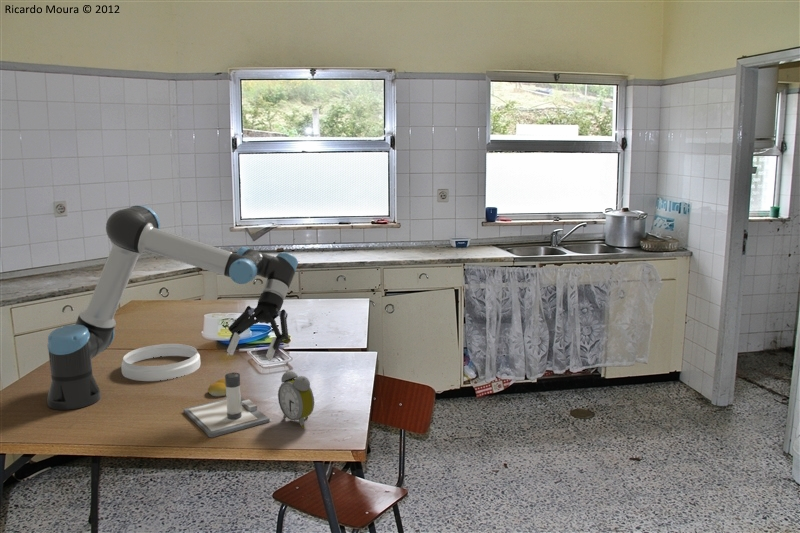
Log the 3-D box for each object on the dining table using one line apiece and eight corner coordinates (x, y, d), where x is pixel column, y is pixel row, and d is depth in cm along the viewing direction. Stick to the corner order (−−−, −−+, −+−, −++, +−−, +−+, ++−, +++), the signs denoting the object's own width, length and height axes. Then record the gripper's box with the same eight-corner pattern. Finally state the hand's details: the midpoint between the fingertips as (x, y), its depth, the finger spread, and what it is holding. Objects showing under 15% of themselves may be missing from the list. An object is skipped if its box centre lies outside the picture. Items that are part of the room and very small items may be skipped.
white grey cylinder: (224, 416, 195) (222, 374, 192) (238, 412, 197) (236, 371, 195) (230, 420, 191) (228, 378, 189) (244, 417, 194) (242, 375, 191)
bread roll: (203, 395, 214) (203, 383, 213) (220, 386, 222) (220, 374, 221) (224, 399, 211) (224, 387, 210) (241, 389, 219) (240, 378, 218)
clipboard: (183, 411, 200) (183, 404, 200) (239, 398, 211) (239, 391, 211) (210, 437, 183) (210, 429, 183) (269, 421, 194) (269, 414, 193)
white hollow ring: (149, 387, 221) (148, 372, 220) (107, 370, 237) (105, 356, 236) (215, 366, 242) (215, 352, 241) (172, 352, 258) (171, 338, 257)
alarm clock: (277, 419, 196) (276, 371, 193) (296, 412, 200) (295, 365, 197) (301, 431, 187) (299, 381, 185) (320, 424, 192) (319, 375, 189)
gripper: (311, 306, 209) (289, 366, 198) (244, 299, 217) (219, 356, 206) (303, 293, 203) (280, 354, 192) (234, 287, 211) (208, 345, 200)
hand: (248, 355), depth 199 cm, fingers open, 13 cm apart
